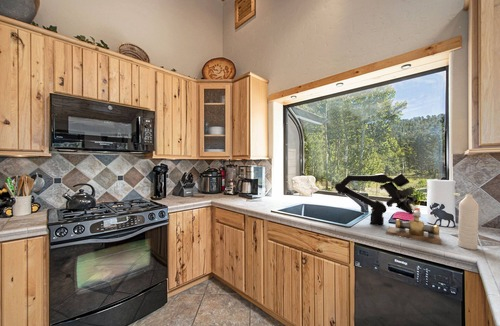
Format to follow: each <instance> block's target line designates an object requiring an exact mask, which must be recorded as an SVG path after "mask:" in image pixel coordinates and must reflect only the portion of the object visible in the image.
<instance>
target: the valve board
mask: <svg viewBox="0 0 500 326" xmlns="http://www.w3.org/2000/svg"><path fill="white" fill-rule="evenodd" d="M385 234H386V235H389V236H394V235H395V236H394V237H399V236H401V238H404V237H406V239H409V238H411V239H410V240H415V239H416V240H415V241H420V240H421V242H425V241H426V243H430V242H431V243H430V244H434V245H442V244H441V242H442V241H441V236H440V234H439V235H434V238H430V237H428V232H424V236H416V235H412V234H410V233H409V229H406V228H405V233H403V232H399V228H396V226H391V225H389V226H388V227H387V228H386V231H385Z"/></svg>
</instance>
